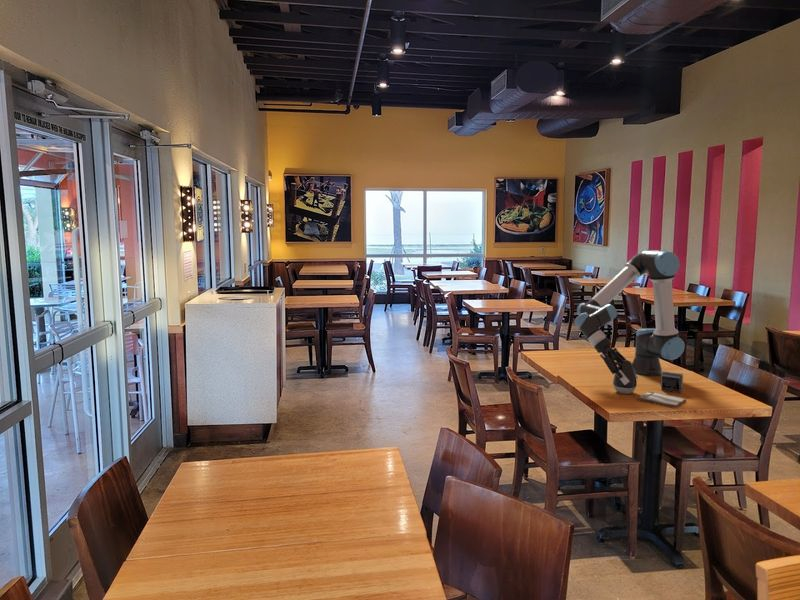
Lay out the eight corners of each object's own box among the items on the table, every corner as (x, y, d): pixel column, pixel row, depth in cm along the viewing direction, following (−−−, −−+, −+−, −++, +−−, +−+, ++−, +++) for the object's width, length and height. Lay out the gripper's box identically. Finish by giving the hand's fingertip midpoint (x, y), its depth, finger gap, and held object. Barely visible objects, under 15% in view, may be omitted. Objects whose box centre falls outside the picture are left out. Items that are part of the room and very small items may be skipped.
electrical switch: (682, 391, 280) (683, 372, 278) (680, 395, 276) (682, 375, 274) (661, 388, 285) (662, 369, 283) (659, 391, 281) (659, 372, 279)
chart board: (648, 393, 275) (648, 390, 275) (685, 401, 265) (685, 398, 265) (637, 400, 265) (637, 397, 265) (675, 408, 255) (675, 405, 254)
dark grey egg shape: (608, 389, 282) (610, 357, 280) (629, 389, 282) (631, 357, 280) (618, 395, 271) (620, 362, 269) (640, 395, 272) (642, 362, 270)
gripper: (604, 343, 293) (634, 381, 284) (583, 350, 277) (615, 390, 268) (615, 334, 289) (646, 372, 280) (595, 340, 272) (628, 381, 264)
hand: (631, 381), depth 274 cm, fingers closed on dark grey egg shape, 9 cm apart
